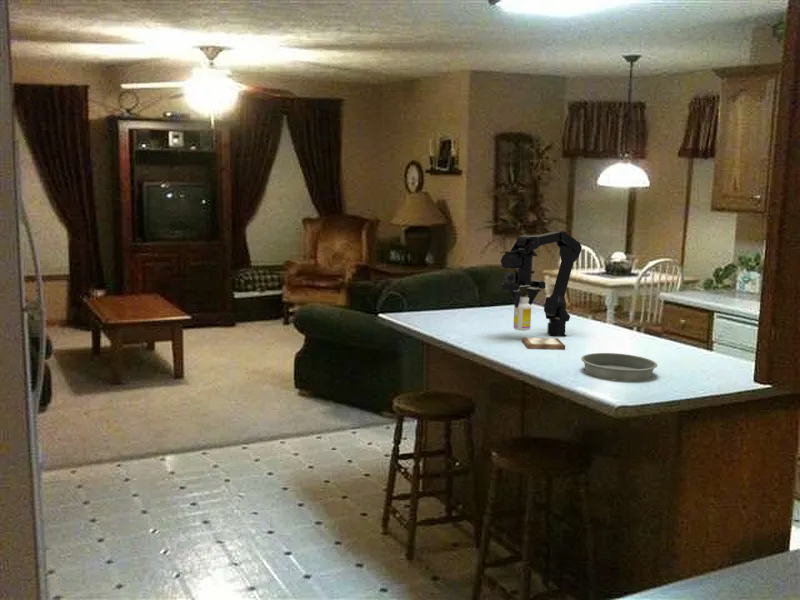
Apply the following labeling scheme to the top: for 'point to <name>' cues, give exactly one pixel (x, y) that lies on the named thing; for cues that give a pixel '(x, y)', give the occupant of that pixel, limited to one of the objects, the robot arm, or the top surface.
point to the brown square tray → (543, 343)
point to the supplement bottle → (522, 315)
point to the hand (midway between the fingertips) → (522, 306)
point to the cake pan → (618, 366)
